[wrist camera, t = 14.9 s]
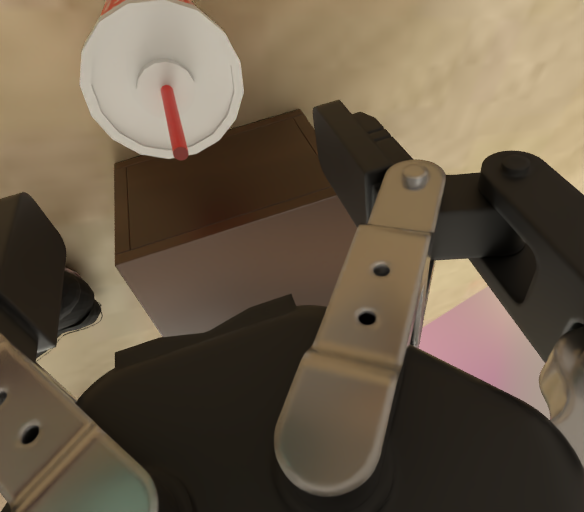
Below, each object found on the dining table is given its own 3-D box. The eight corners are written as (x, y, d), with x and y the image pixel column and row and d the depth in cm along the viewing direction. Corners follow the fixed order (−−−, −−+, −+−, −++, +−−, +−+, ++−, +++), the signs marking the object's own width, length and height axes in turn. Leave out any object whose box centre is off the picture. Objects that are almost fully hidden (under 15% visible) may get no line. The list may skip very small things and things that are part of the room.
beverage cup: (125, 94, 25) (134, 254, 15) (61, -25, 21) (18, 95, 11) (224, 58, 25) (294, 194, 16) (183, -66, 21) (245, 15, 11)
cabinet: (323, 264, 40) (365, 349, 33) (191, 308, 39) (207, 404, 32) (300, 108, 29) (356, 188, 22) (113, 163, 28) (114, 265, 21)
